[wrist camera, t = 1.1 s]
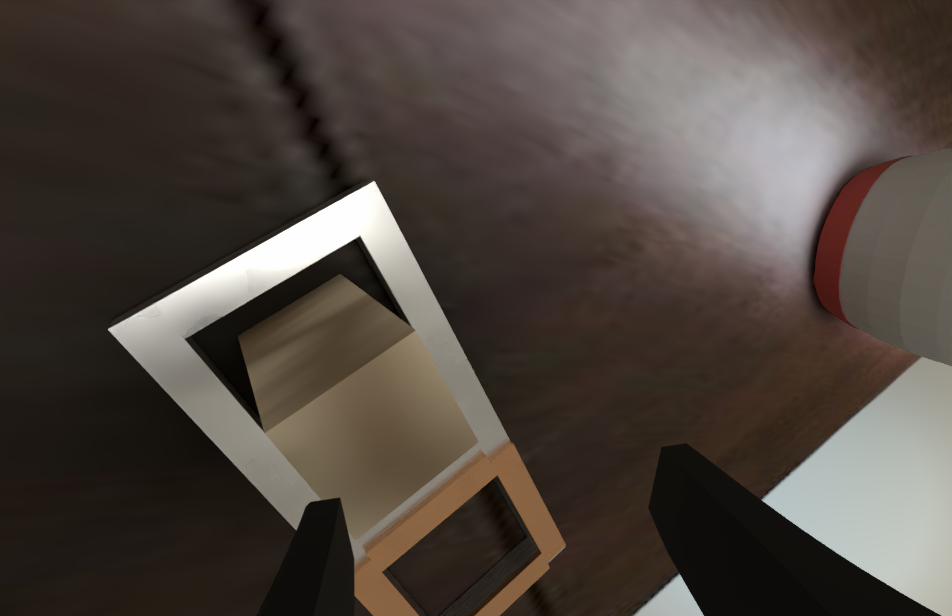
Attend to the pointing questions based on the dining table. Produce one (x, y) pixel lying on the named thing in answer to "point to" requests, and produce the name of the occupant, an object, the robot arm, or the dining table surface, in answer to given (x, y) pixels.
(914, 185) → the citrus juicer
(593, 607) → the dining table surface
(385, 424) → the birch peg
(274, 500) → the rail
